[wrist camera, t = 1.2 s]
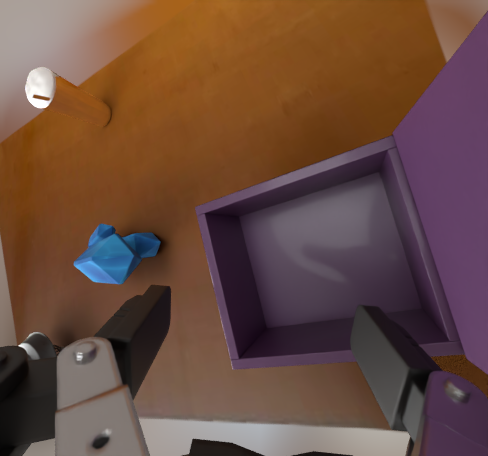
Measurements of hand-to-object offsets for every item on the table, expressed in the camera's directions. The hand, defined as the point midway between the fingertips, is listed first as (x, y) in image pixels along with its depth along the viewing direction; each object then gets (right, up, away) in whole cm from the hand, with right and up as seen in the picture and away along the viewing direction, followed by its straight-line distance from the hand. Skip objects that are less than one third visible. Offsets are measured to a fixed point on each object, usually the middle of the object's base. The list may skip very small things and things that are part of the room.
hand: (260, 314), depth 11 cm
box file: (+7, +1, +15) cm, 16 cm away
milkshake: (-21, +20, +27) cm, 39 cm away
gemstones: (-14, +1, +24) cm, 28 cm away
